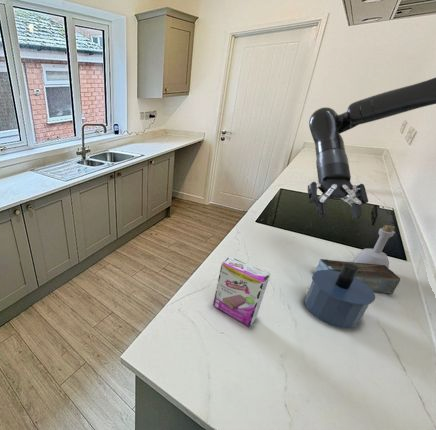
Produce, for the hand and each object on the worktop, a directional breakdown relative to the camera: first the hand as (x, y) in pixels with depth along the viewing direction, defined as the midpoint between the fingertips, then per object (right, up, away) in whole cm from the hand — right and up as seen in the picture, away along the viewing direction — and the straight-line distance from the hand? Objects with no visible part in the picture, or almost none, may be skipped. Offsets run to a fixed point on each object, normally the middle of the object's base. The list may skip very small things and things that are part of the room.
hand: (339, 217), depth 75 cm
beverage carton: (+14, -22, +11) cm, 28 cm away
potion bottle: (+25, -19, +17) cm, 36 cm away
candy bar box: (-30, -28, +1) cm, 41 cm away
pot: (-2, -27, +1) cm, 28 cm away
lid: (-2, -19, -3) cm, 20 cm away
